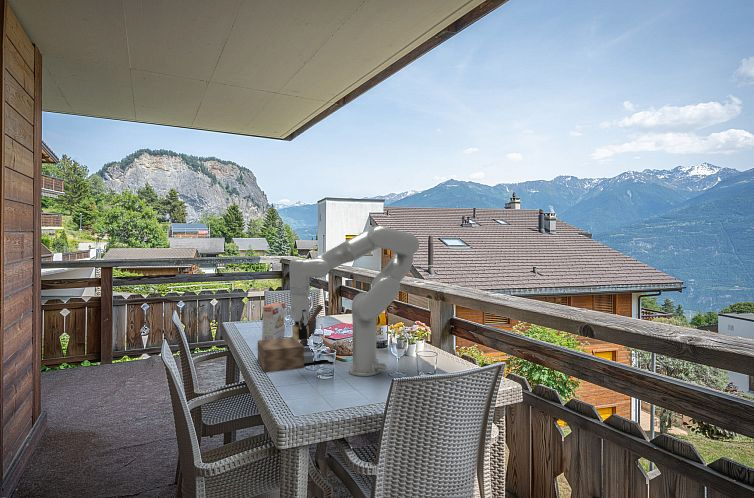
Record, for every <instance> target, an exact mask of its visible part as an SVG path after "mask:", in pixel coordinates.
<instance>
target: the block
mask: <svg viewBox="0 0 754 498" xmlns="http://www.w3.org/2000/svg"><path fill="white" fill-rule="evenodd" d="M301 325H302V324H301ZM299 329H300V328H299V325H294V324H292V329H291V330H292V337H293V339H295V340H296V341H301V340H300V339H299ZM307 339H309V326H307ZM302 340H306V339H302Z"/></svg>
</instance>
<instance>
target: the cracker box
mask: <svg viewBox="0 0 754 498" xmlns="http://www.w3.org/2000/svg"><path fill="white" fill-rule="evenodd" d="M285 310H286V304H285V302H272V303H270V304H266V305H264V306H262V318H261V320H262V327H261V328H262V329H261V330H262V332H261V333H262V335H261V337H262V339H261V340H269V339H280V338H285V336H286V335H285V327H286V325H285V321H286V320H285V319H286V318H285V316H286V314H285V313H286V311H285Z"/></svg>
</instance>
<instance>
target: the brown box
mask: <svg viewBox="0 0 754 498" xmlns="http://www.w3.org/2000/svg"><path fill="white" fill-rule="evenodd" d="M304 347H305V346H303V345H302V344H301V343H300V340H298V341H296V340H295V339H293V336H292V337H284V338H280V339H269V340H262V339H261V340H257V362H258V364H259V366H260V367H261V369H262V371H263V373H270V372H279V371H287V370H295V369H304V368H305V363H304Z"/></svg>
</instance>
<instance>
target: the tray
mask: <svg viewBox="0 0 754 498" xmlns="http://www.w3.org/2000/svg"><path fill="white" fill-rule="evenodd" d="M319 337H321V338H322V339H323V344H324V346H326V347H329V348H330V350H333V351H335V350H334V349H335V348H334V346H335V345H334V342H333V343H332V342H331V341H330V340H329V339H327V338H326V337H325V336H324V335H321V334H320V335H318V338H319ZM309 347H310V346H304V364H309V363H311V364H312V363H314V362H313V358H314V355H312V352H311V350H310V348H309Z"/></svg>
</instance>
